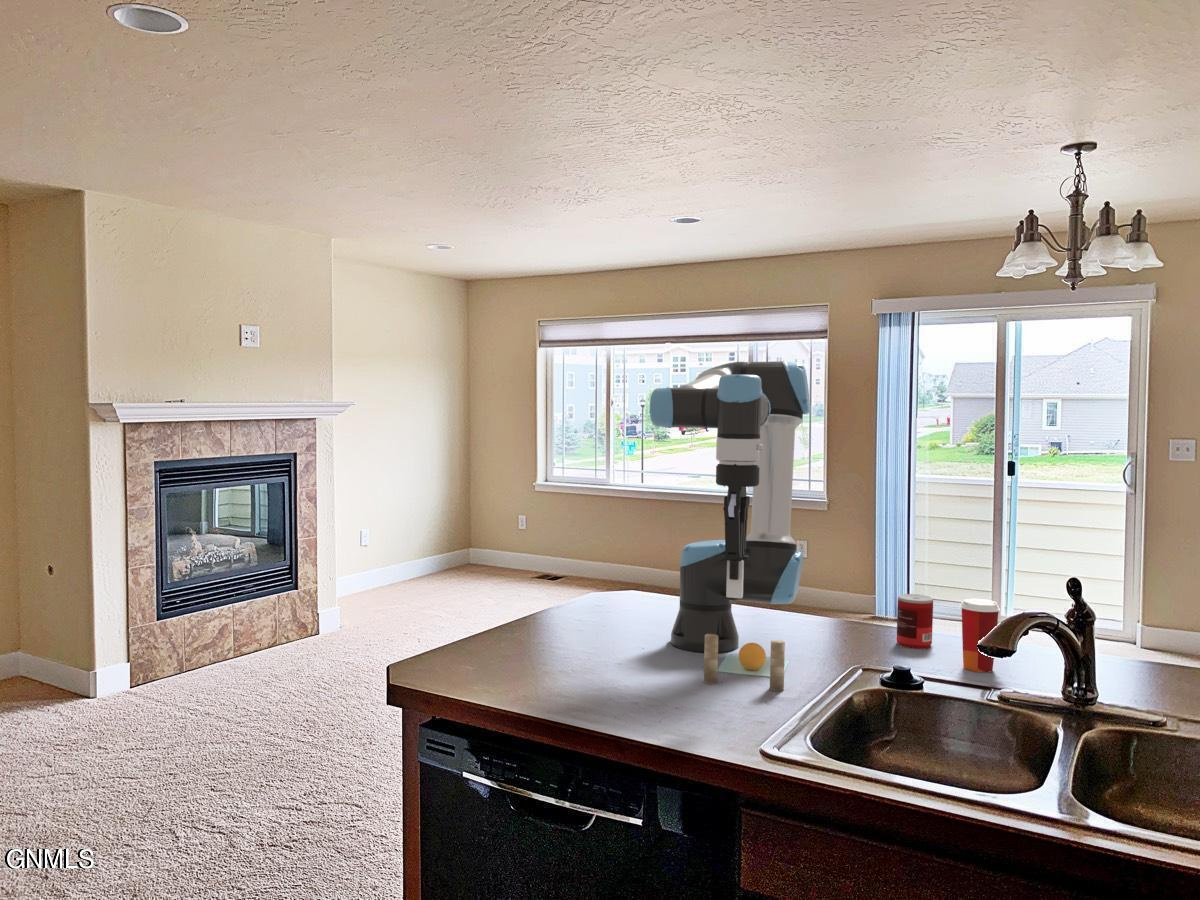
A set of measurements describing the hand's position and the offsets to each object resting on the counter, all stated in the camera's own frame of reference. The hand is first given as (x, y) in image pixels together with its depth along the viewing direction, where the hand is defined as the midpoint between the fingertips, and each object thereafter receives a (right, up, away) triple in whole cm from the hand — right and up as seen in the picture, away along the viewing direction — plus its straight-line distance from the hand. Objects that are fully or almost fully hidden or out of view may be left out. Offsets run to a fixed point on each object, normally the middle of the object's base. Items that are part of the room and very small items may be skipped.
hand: (734, 596), depth 156 cm
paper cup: (+55, -20, +28) cm, 65 cm away
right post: (+10, -19, +11) cm, 24 cm away
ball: (+7, -16, +24) cm, 29 cm away
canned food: (+48, -19, +47) cm, 70 cm away
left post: (-2, -19, +15) cm, 24 cm away
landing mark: (+8, -19, +26) cm, 33 cm away
